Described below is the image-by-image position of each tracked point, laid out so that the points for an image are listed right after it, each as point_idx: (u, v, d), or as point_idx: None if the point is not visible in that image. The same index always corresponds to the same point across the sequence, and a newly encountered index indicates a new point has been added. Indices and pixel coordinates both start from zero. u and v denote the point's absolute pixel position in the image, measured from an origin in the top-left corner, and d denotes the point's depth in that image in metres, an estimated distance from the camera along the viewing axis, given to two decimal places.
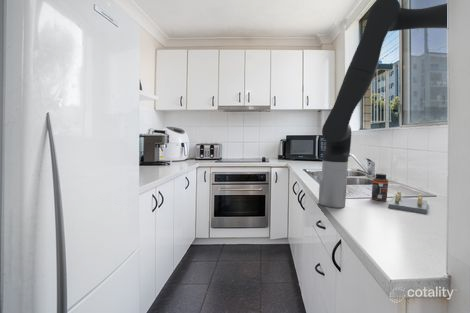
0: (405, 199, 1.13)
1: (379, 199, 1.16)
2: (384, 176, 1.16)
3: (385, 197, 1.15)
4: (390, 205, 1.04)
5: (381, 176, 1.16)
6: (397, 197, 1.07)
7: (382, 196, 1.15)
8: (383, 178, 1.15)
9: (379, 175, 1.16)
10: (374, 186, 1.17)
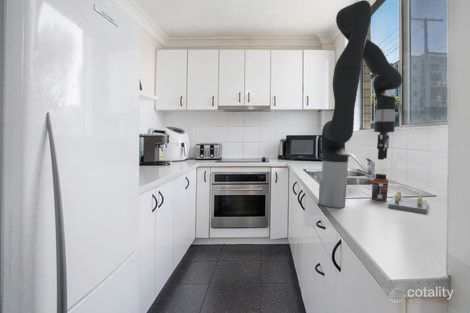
0: (405, 199, 1.13)
1: (379, 199, 1.16)
2: (384, 176, 1.16)
3: (385, 197, 1.15)
4: (390, 205, 1.04)
5: (381, 176, 1.16)
6: (397, 197, 1.07)
7: (382, 196, 1.15)
8: (383, 178, 1.15)
9: (379, 175, 1.16)
10: (374, 186, 1.17)
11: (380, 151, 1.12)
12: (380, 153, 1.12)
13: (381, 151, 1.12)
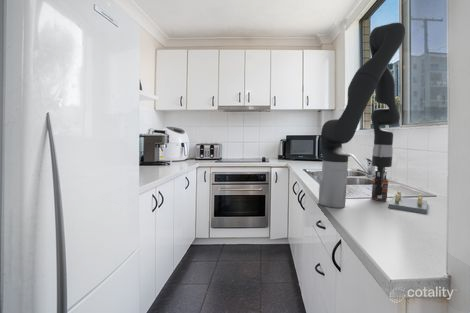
0: (405, 199, 1.13)
1: (379, 199, 1.16)
2: None
3: (385, 197, 1.15)
4: (390, 205, 1.04)
5: None
6: (397, 197, 1.07)
7: (382, 196, 1.15)
8: None
9: None
10: (374, 186, 1.17)
11: (378, 187, 1.14)
12: (378, 189, 1.14)
13: (379, 187, 1.14)
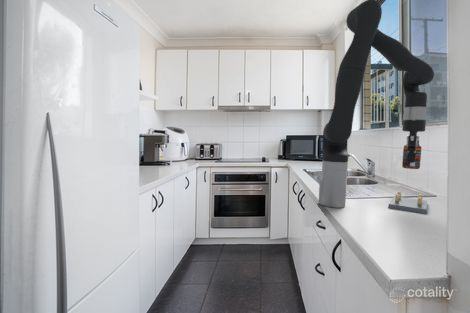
0: (405, 199, 1.13)
1: (412, 167, 1.05)
2: None
3: (418, 165, 1.05)
4: (390, 205, 1.04)
5: None
6: (397, 197, 1.07)
7: (415, 163, 1.05)
8: None
9: None
10: (406, 153, 1.06)
11: (410, 153, 1.04)
12: (410, 156, 1.04)
13: (411, 153, 1.04)
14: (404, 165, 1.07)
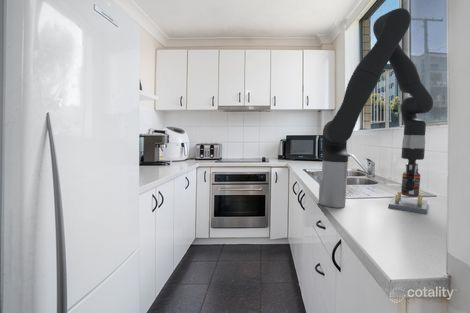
0: (405, 199, 1.13)
1: (411, 195, 1.05)
2: None
3: (417, 193, 1.05)
4: (390, 205, 1.04)
5: None
6: (397, 197, 1.07)
7: (414, 191, 1.05)
8: None
9: None
10: (405, 181, 1.07)
11: (409, 182, 1.04)
12: (409, 184, 1.04)
13: (410, 182, 1.04)
14: (403, 192, 1.08)
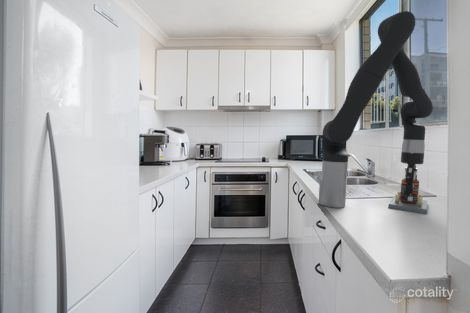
0: None
1: (409, 201, 1.06)
2: None
3: (416, 199, 1.06)
4: (390, 205, 1.04)
5: None
6: (397, 197, 1.07)
7: (413, 198, 1.05)
8: None
9: None
10: (403, 187, 1.07)
11: (408, 185, 1.04)
12: (408, 187, 1.04)
13: (409, 185, 1.04)
14: (402, 199, 1.08)
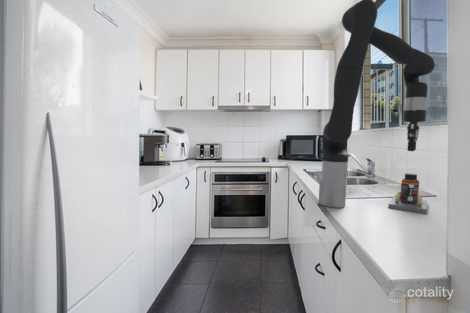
0: None
1: (409, 201, 1.06)
2: (415, 176, 1.06)
3: (416, 199, 1.06)
4: (390, 205, 1.04)
5: (411, 176, 1.06)
6: (397, 197, 1.07)
7: (413, 198, 1.05)
8: (414, 179, 1.06)
9: (409, 175, 1.06)
10: (403, 187, 1.07)
11: (410, 142, 1.04)
12: (410, 144, 1.04)
13: (412, 142, 1.04)
14: (402, 199, 1.08)
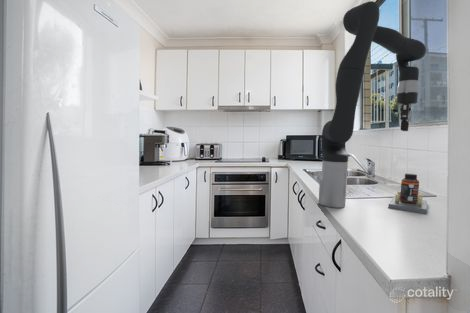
0: None
1: (409, 201, 1.06)
2: (415, 176, 1.06)
3: (416, 199, 1.06)
4: (390, 205, 1.04)
5: (411, 176, 1.06)
6: (397, 197, 1.07)
7: (413, 198, 1.05)
8: (414, 178, 1.06)
9: (409, 175, 1.06)
10: (403, 187, 1.07)
11: (403, 122, 1.12)
12: (403, 124, 1.12)
13: (404, 122, 1.12)
14: (402, 199, 1.08)
